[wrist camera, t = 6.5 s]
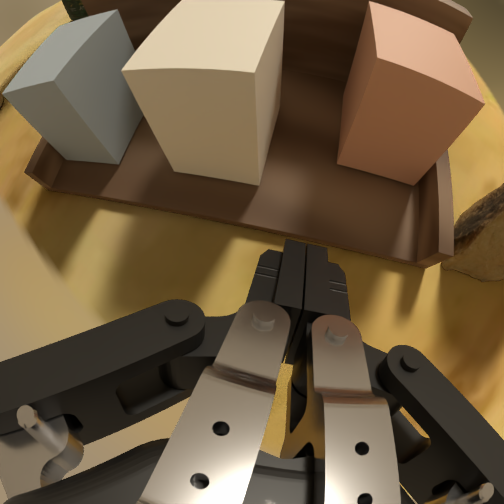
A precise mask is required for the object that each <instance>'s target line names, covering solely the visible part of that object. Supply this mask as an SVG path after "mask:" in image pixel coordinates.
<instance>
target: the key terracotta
mask: <svg viewBox="0 0 504 504" xmlns="http://www.w3.org/2000/svg"><path fill="white" fill-rule="evenodd" d="M484 105H485V103H484V100H483V97H482V94H481V92H480V89H479V87H478V84H477V82H476V79H475V77H474V74H473V72H472V70H471V68H470V65H469V63H468V61H467V59H466V57H465V55H464V53H463V51H462V49H461V47H460V45H459V43H458V41H457V39H456V37H455V35H454V34H453V33H451V32H449V31H447V30H444V29H442V28H440V27H438V26H436V25H434V24H431V23H429V22H427V21H425V20H422V19H420V18H417V17H415V16H412V15H410V14H407V13H404V12H402V11H399V10H396V9H393V8H390V7H387V6H384V5H381V4H378V3H374V2H371V1H369V3H368V7H367V11H366V15H365V19H364V23H363V26H362V30H361V34H360V38H359V41H358V45H357V49H356V52H355V56H354V60H353V63H352V67H351V70H350V74H349V77H348V81H347V84H346V87H345V91H344V94H343V104H342V116H341V128H340V138H339V148H338V157H337V164H339V165H343V166H347V167H351V168H354V169H358V170H362V171H365V172H369V173H373V174H376V175H380V176H383V177H386V178H390V179H393V180H396V181H400V182H403V183H406V184H409V185H412V186H414V185H415V184H416V183H417V182H418V181H419V180H420V179H421V177H422V176H423V175H424V174H425V173H426V172H427V171H428V170H429V169H430V168H431V167H432V166H433V164H434V163H435V162H436V161H437V160H438V159H439V158H440V157H441V156H442V154H443V153H444V152H445V151H446V150H447V149H448V148H449V147H450V145H451V144H452V143H453V142H454V141H455V140H456V139H457V137H458V136H459V135H460V134H461V133H462V132H463V130H464V129H465V128H466V127H467V126H468V124H469V123H470V122H471V121H472V120H473V118H474V117H475V116H476V115H477V114H478V112H479V111H480V110H481V109H482V107H483V106H484Z"/></svg>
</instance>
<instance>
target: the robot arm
mask: <svg viewBox="0 0 504 504" xmlns="http://www.w3.org/2000/svg"><path fill="white" fill-rule="evenodd" d="M2 102H3V95H2V94H1V93H0V108H1V105H2ZM285 356H286V359H285V363H286V364H291V365H293V371H292V375H291V378H290V380H289V382H288V389H287V410H286V428H285V439H284V443H283V446H282V450H281V454H280V458H278V457H275V456H273V455H270V454H268V453H266V452H263V451H261V450H259V448H260V445H261V442H262V438H263V435H264V432H265V428H266V425H267V421H268V417H269V414H270V410H271V407H272V403H273V399H274V395H275V391H276V381H277V377H278V373H279V369H280V365H281V363H283V361H284V358H285ZM190 396H191V397H190ZM188 397H190V399H189V401H188V403H187V405H186V407H185V409H184V411H183V413H182V415H181V417H180V419H179V421H178V423H177V425H176V427H175V429H174V431H173V433H172V435H171V437H170V438H166V439H160V440H155V441H150V442H148V443H145V444H142V445H140V446H137V447H135V448H133V449H131V450H129V451H127V452H125V453H123V454H121V455H119V456H117V457H115V458H112V459H110V460H108V461H106V462H104V463H102V464H99V465H97V466H95V467H92V468H90V469H88V470H86V471H83V472H81V473H78V474H76V475H73V476H71V477H68V478H66V479H63V480H62V478H63V477H64V475H65V474H66V473H67V472H69V471H71V470H72V469H74V468H76V467H77V466H78V465H79V464H80V462H81V460H82V458H83V453H84V447H83V445H86V444H89V443H91V442H94V441H96V440H99V439H101V438H103V437H106V436H108V435H111V434H113V433H115V432H118V431H120V430H122V429H124V428H126V427H129V426H131V425H133V424H135V423H138V422H140V421H142V420H144V419H146V418H148V417H150V416H152V415H154V414H157V413H159V412H161V411H162V410H165V409H167V408H169V407H171V406H173V405H175V404H177V403H178V402H180V401H182V400H184V399H186V398H188ZM402 407H404V408H405V410H406V411H407V412H408V413H409V414H410V415H411V416H412V417H413V419H414V420H415V421H416V422H417V423H418V424H419V425H420V426H421V428H422V429H423V430H424V431H425V432H426V433H427V434H428V436H429V437H430V438H425V437H423V436H421V435H420V434H419V432H418V431H417V430H416V429H415V428H414V427H413V426H412V424H411V423H410V422H409V421H408V420H407V419H406V418H405V417H404V415H403V414H402V413H401V412H400V411H399V410H400V409H401V408H402ZM0 478H1V481H2V484H3V486H4V489H5V491H6V494H7V497H8V500H7V501H6V502H5V503H4V504H415V503H414V502H413V500H412V499H411V498H410V497H409V495H408V494H407V493H406V492H405V490H404V489H403V488H402V487H401V485H400V484H399V482H400V483H401V484H402V486H403V487H404V488H405V489H406V490H407V492H408V493H409V494H410V495H411V496H412V497H413V499H414V500H415V501H416V502H417V503H418V504H504V440H503V439H502V438H501V437H500V435H499V434H498V433H497V432H496V431H495V430H494V429H493V428H492V426H491V425H490V424H489V423H488V422H487V421H486V420H485V419H484V418H483V417H482V415H481V414H480V413H479V412H478V411H477V410H476V409H475V408H474V407H473V406H472V405H471V404H470V402H469V401H468V400H467V399H466V398H465V397H464V396H463V395H462V394H461V393H460V392H459V391H458V390H457V389H456V388H455V387H454V386H453V385H452V384H451V382H450V381H449V380H448V379H447V378H446V377H445V376H444V375H443V374H442V373H441V372H440V371H439V370H438V369H437V368H436V367H435V366H434V365H433V364H432V363H431V362H430V361H429V360H428V359H427V358H426V357H425V356H424V355H423V354H422V353H421V352H420V351H418V350H417V349H415V348H413V347H411V346H407V345H398V346H395V347H393V348H392V349H391V350H390V351H389V352H388V354H387V353H385V352H383V351H380V350H378V349H376V348H373V347H371V346H369V345H367V344H366V343H364V342H363V341H362V338H361V334H360V332H359V330H358V328H357V327H356V326H355V325H354V324H353V323H352V322H351V319H350V310H349V301H348V293H347V286H346V278H345V273H344V272H343V270H342V269H341V268H340V266H339V265H338V264H334V263H330V262H328V254H327V248H325V247H320V246H316V245H311V244H307V245H306V243H302V242H297V241H293V240H288V239H286V240H285V245H284V249H283V252H279V251H274V250H269V249H268V250H267V251H266V252H264V253H263V254H262V255H261V256H260V258H259V262H258V265H257V268H256V271H255V274H254V278H253V281H252V284H251V287H250V290H249V294H248V297H247V300H246V303H245V304H244V305H242V306H241V307H240V308H239V310H238V312H236V313H234V314H231V315H228V316H220V317H205V315H204V313H203V311H202V310H201V308H200V307H198V306H197V305H196V304H194V303H192V302H189V301H186V300H178V299H176V300H168V301H165V302H162V303H159V304H157V305H154V306H152V307H149V308H146V309H144V310H141V311H138V312H136V313H133V314H131V315H128V316H125V317H123V318H120V319H117V320H115V321H112V322H109V323H107V324H104V325H101V326H99V327H96V328H93V329H91V330H88V331H85V332H82V333H80V334H77V335H74V336H71V337H69V338H66V339H63V340H61V341H58V342H55V343H53V344H49V345H47V346H44V347H41V348H39V349H36V350H33V351H30V352H27V353H25V354H22V355H19V356H16V357H13V358H11V359H8V360H5V361H2V362H0Z"/></svg>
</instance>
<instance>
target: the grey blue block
mask: <svg viewBox="0 0 504 504" xmlns="http://www.w3.org/2000/svg"><path fill="white" fill-rule="evenodd" d="M134 53H135V50H134V48H133V45H132V43H131V41H130V38H129V36H128V33H127V31H126V29H125V26H124V24H123V21H122V19H121V17H120V14H119V12H118V9H117V10H112V11H108V12H104V13H100V14H96V15H93V16H89V17H86V18H82V19H79V20H76V21H73V22H69V23H66V24H64V25H61V26H59V27H58V28H57V29H56V30H55V31H54V32H53V33H52V34H51V35H50V36H49V37H48V38H47V39H46V40H45V41H44V42H43V43H42V44H41V45H40V46H39V48H38V49H37V50H36V51H35V52H34V53H33V54H32V56H31V57H30V58H29V59H28V60H27V62H26V63H25V64H24V65H23V66H22V68H21V69H20V70H19V72H18V73H17V74H16V75H15V77H14V78H13V79H12V81H11V82H10V83H9V85H8V86H7V88H6V89H5V90H4V92H3V93H2V95H3V96H4V97H5V98H6V99H7V100H8V101H9V102H10V103H11V104H12V105H13V106H14V107H15V109H16V110H17V111H18V112H19V113H20V114H21V115H22V116H23V117H24V118H25V119H26V120H27V121H28V122H29V123H30V124H31V125H32V126H33V127H34V128H35V129H36V130H37V131H38V132H39V133H40V134H41V135H42V136H43V137H44V138H45V139H46V140H47V141H48V142H49V143H50V144H51V145H52V146H53V147H54V148H55V149H56V150H57V151H58V152H59V153H60V154H61V155H62V156H63V157H64V158H65V159H66V160H74V161H87V162H98V163H108V164H118V165H119V163H120V161H121V159H122V157H123V155H124V153H125V150H126V148H127V146H128V144H129V142H130V140H131V138H132V136H133V134H134V132H135V130H136V128H137V126H138V124H139V123H140V121H141V119H142V117H143V115H144V114H143V112H142V110H141V109H140V107H139V105H138V103H137V101H136V99H135V97H134V95H133V93H132V91H131V89H130V87H129V85H128V83H127V81H126V79H125V78H124V76H123V74H122V72H121V70H122V69H123V67H124V66H125V65H126V63H127V62H128V61H129V59H130V58H131V57H132V55H133V54H134Z"/></svg>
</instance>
